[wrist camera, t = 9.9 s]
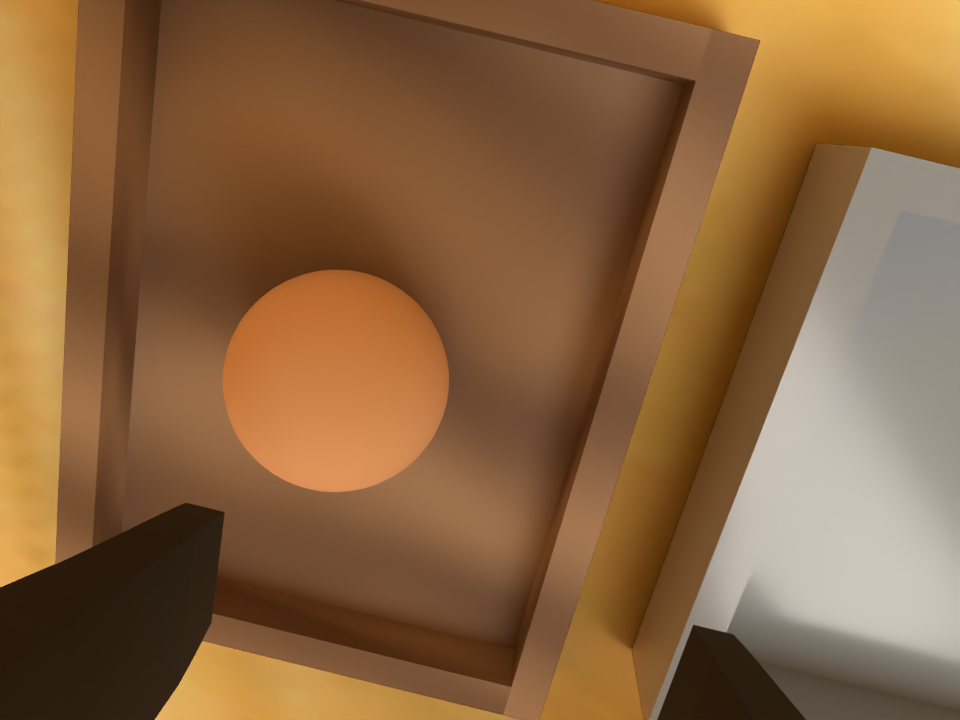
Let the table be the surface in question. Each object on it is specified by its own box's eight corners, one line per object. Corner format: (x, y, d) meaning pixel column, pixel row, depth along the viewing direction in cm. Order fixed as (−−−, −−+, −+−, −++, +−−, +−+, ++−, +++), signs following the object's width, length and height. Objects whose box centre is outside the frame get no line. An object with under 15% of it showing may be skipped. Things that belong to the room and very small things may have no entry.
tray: (538, 669, 22) (537, 723, 20) (97, 561, 22) (53, 604, 20) (734, 50, 17) (760, 40, 15) (138, -93, 17) (83, -122, 15)
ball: (437, 454, 20) (407, 560, 15) (256, 412, 20) (170, 504, 15) (477, 278, 18) (459, 333, 13) (282, 231, 18) (194, 270, 13)
